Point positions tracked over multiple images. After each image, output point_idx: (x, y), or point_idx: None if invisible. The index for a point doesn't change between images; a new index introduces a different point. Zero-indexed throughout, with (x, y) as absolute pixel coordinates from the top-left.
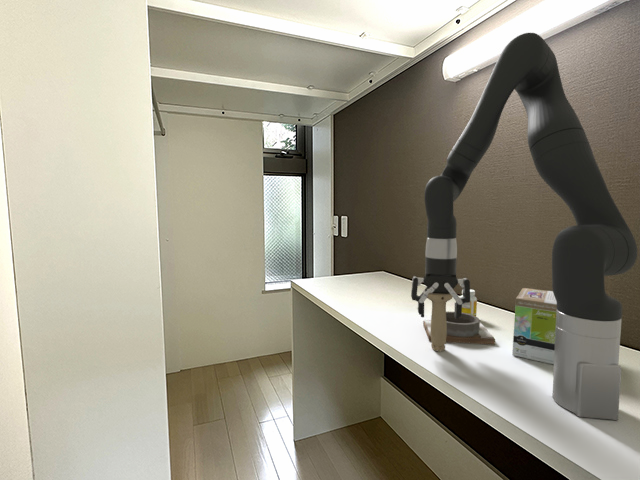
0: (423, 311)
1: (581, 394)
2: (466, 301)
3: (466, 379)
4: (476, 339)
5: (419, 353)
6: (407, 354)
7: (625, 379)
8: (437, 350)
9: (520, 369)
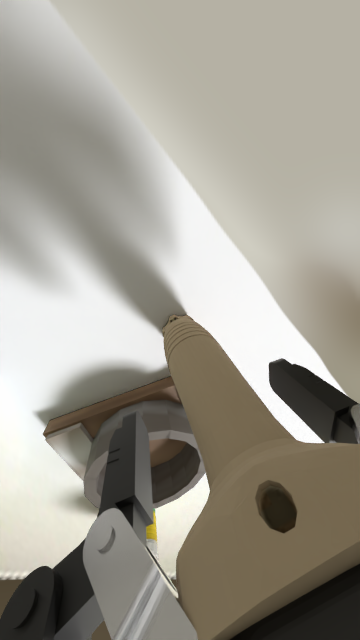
0: (293, 375)
1: None
2: (43, 583)
3: (68, 133)
4: (92, 413)
5: (219, 282)
6: (246, 263)
7: None
8: (179, 316)
9: None
